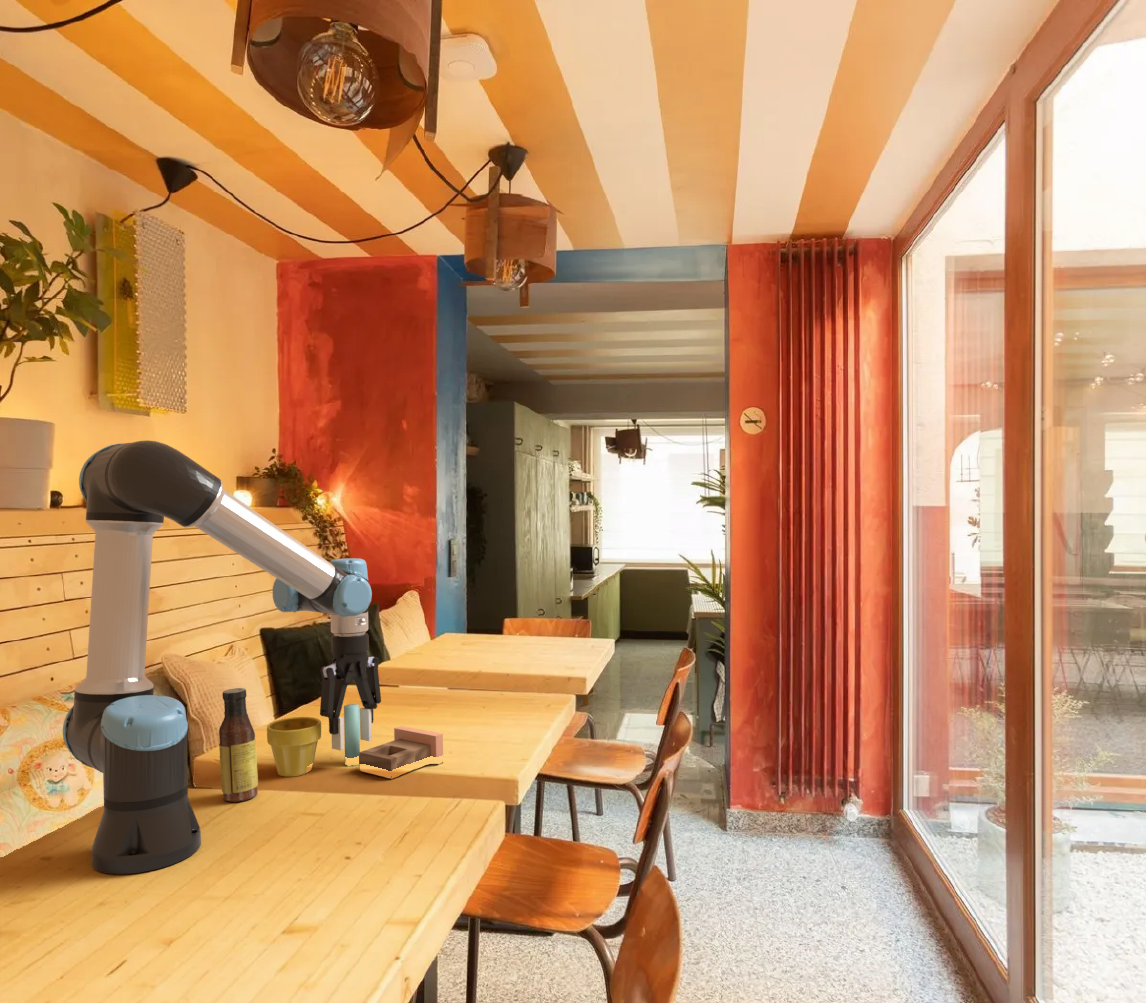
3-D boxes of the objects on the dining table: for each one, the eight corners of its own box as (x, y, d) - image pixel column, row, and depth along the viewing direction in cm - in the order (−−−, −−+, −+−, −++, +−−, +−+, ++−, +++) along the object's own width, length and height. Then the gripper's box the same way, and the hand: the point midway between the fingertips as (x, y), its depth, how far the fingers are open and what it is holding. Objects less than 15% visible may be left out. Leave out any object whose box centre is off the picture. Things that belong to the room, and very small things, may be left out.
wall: (436, 765, 170) (435, 736, 170) (394, 756, 177) (394, 728, 177) (443, 762, 172) (442, 733, 172) (401, 754, 178) (401, 726, 178)
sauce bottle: (264, 791, 156) (262, 686, 156) (248, 804, 150) (245, 693, 150) (231, 791, 157) (228, 686, 157) (213, 803, 151) (211, 693, 151)
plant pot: (312, 779, 163) (311, 729, 163) (259, 780, 163) (258, 730, 163) (328, 763, 173) (327, 716, 173) (279, 763, 173) (278, 716, 173)
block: (391, 779, 162) (391, 759, 162) (359, 771, 167) (359, 752, 167) (431, 764, 171) (430, 744, 171) (399, 757, 176) (399, 738, 176)
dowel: (351, 767, 170) (350, 708, 170) (341, 764, 172) (340, 706, 172) (363, 763, 173) (361, 705, 173) (353, 760, 174) (352, 703, 174)
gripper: (323, 642, 162) (325, 760, 162) (397, 628, 178) (400, 735, 178) (298, 639, 166) (300, 754, 166) (373, 625, 183) (375, 730, 183)
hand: (352, 744), depth 172 cm, fingers open, 7 cm apart
